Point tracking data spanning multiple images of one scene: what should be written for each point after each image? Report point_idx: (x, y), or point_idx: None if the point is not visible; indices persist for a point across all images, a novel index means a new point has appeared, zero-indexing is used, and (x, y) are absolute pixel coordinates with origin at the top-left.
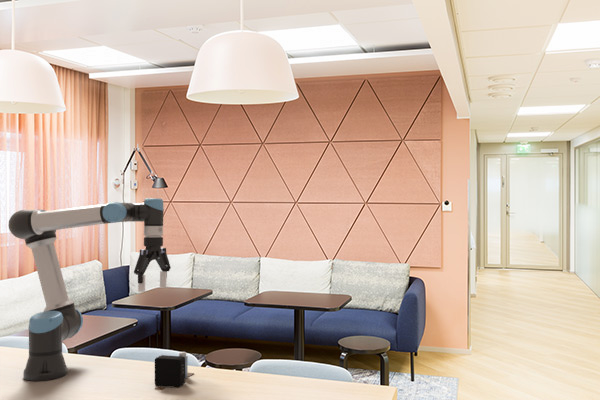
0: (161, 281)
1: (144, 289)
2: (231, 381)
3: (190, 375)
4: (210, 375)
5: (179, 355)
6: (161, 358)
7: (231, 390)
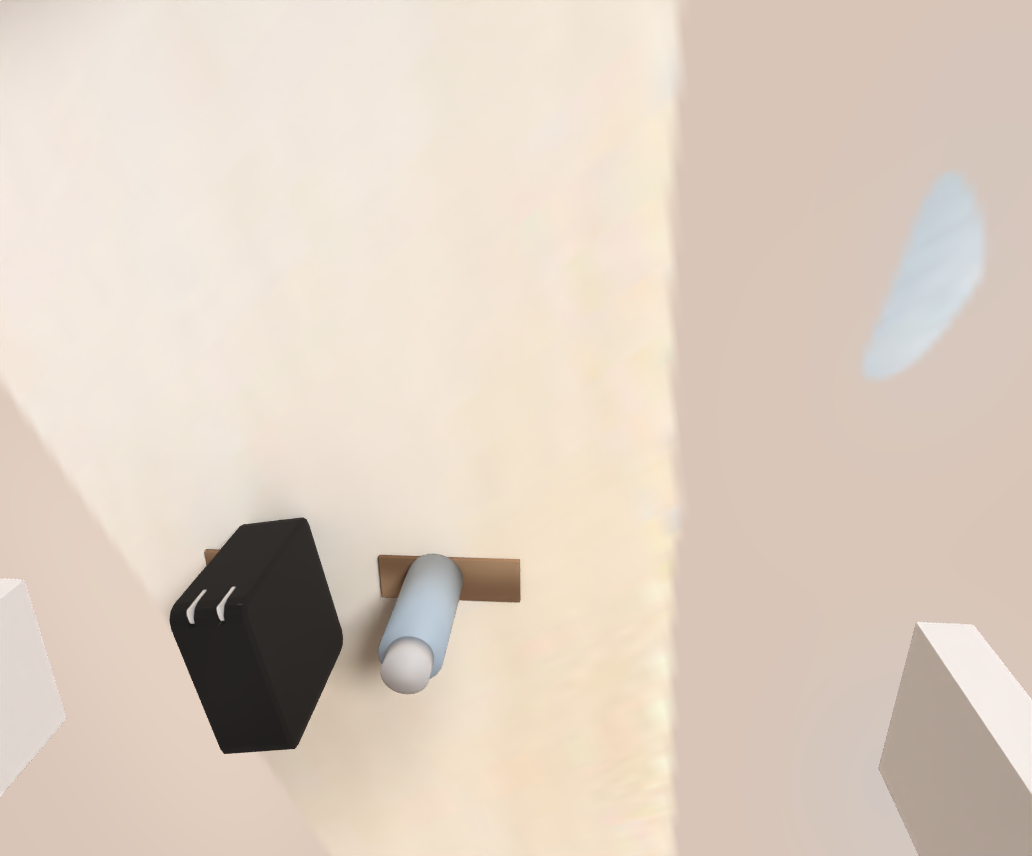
0: (990, 812)
1: (8, 760)
2: (489, 798)
3: (481, 599)
4: (535, 681)
5: (386, 653)
6: (182, 656)
7: (375, 839)
